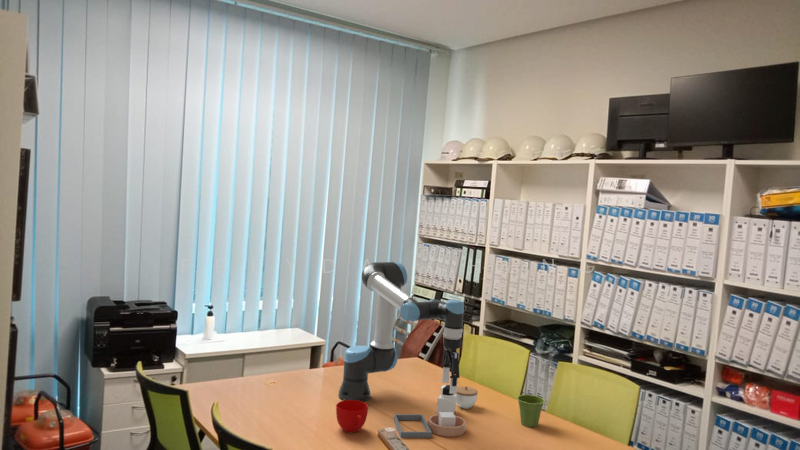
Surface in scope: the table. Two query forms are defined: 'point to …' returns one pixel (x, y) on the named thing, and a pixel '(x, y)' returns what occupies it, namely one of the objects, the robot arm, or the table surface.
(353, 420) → the ceramic cup
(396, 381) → the table surface
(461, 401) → the lidded jar
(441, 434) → the bowl
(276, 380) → the table surface
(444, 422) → the white cube
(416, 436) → the parts tray
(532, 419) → the plant pot
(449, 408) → the medicine bottle
